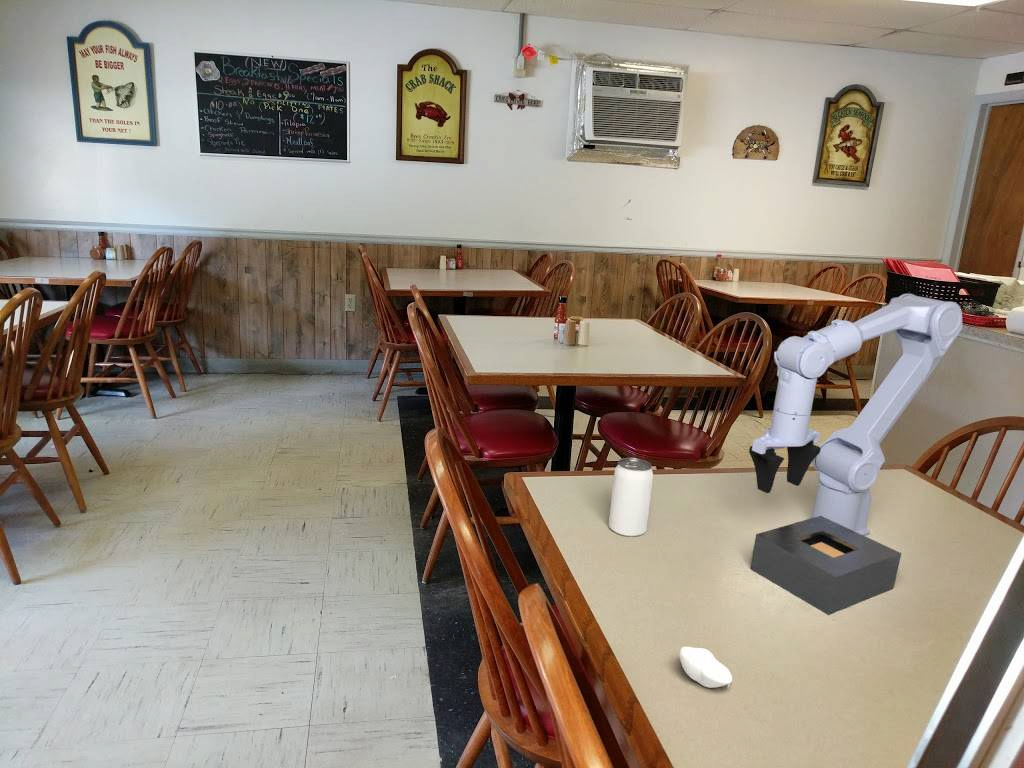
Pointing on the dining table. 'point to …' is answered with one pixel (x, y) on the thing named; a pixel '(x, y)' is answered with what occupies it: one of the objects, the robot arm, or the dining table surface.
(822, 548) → the block
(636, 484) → the can
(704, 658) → the dumpling
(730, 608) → the dining table surface
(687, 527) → the dining table surface
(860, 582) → the grey box with hole
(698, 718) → the dining table surface
